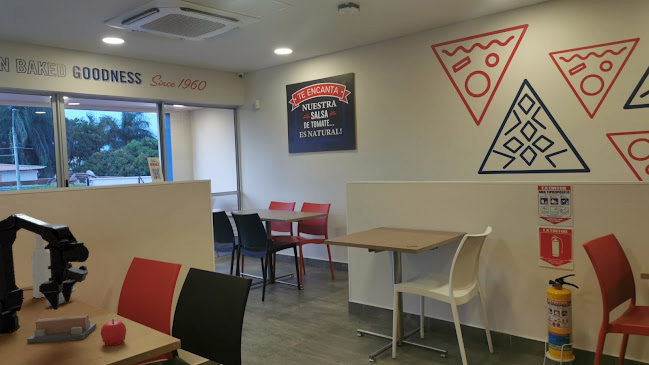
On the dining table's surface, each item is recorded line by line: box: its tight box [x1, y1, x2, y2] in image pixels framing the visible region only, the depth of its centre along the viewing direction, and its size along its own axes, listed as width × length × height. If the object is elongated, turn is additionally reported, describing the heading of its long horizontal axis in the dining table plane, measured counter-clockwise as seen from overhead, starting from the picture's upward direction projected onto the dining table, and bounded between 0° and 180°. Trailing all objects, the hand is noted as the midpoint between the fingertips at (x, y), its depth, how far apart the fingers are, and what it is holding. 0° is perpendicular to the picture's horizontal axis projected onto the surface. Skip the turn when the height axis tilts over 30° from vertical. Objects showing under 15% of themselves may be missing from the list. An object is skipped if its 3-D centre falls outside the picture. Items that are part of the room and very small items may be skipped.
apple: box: [100, 318, 127, 346], centre depth 155 cm, size 8×8×8 cm
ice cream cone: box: [46, 288, 77, 307], centre depth 208 cm, size 6×6×15 cm
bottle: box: [31, 233, 51, 299], centre depth 220 cm, size 8×8×30 cm
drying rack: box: [26, 319, 97, 344], centre depth 165 cm, size 18×12×4 cm, turn 97°
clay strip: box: [35, 314, 90, 334], centre depth 165 cm, size 16×4×4 cm, turn 101°
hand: (62, 305), depth 165 cm, fingers open, 9 cm apart
